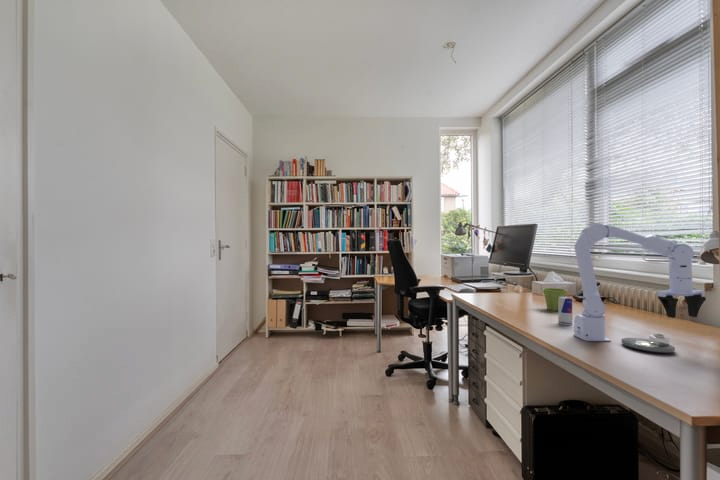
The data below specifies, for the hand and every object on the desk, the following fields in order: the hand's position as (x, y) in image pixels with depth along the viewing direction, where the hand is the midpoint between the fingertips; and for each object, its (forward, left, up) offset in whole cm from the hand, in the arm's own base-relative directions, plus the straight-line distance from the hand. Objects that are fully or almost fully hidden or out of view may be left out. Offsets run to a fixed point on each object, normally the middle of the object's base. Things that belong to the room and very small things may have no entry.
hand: (682, 317), depth 113 cm
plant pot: (-9, +64, -11) cm, 65 cm away
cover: (-8, 0, -9) cm, 12 cm away
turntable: (-12, 0, -11) cm, 16 cm away
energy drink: (-21, +33, -11) cm, 40 cm away
